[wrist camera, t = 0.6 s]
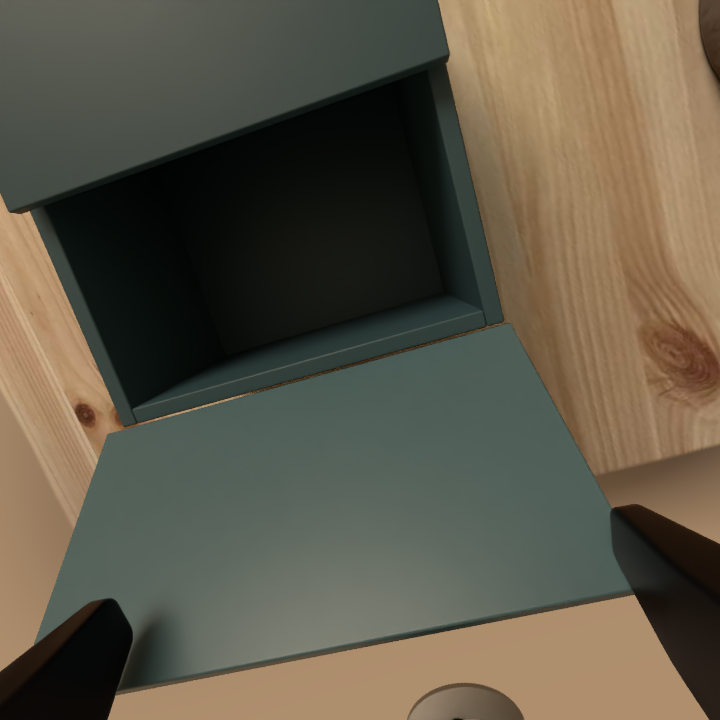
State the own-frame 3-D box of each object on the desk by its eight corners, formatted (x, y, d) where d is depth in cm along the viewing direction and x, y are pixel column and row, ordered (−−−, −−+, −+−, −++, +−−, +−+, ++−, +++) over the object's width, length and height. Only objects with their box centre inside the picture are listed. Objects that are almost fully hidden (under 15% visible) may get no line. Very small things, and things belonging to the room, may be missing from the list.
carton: (455, 298, 20) (513, 325, 11) (224, 365, 21) (106, 438, 12) (380, -4, 18) (375, -291, 8) (123, 94, 19) (-116, -62, 10)
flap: (510, 321, 11) (510, 332, 11) (106, 433, 12) (116, 440, 13) (655, 586, 7) (649, 591, 7) (8, 712, 8) (26, 713, 8)
